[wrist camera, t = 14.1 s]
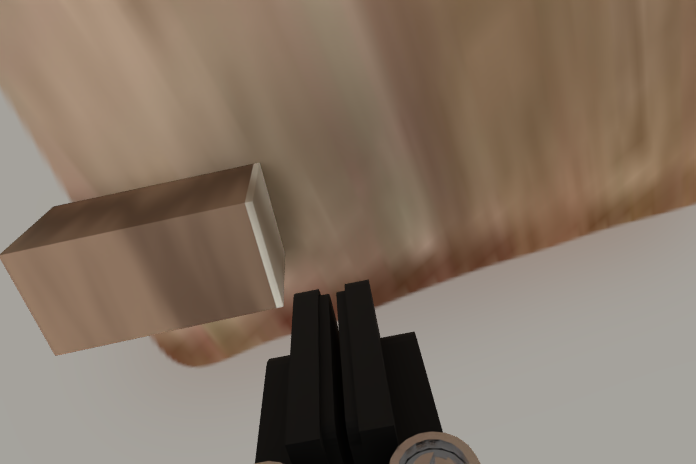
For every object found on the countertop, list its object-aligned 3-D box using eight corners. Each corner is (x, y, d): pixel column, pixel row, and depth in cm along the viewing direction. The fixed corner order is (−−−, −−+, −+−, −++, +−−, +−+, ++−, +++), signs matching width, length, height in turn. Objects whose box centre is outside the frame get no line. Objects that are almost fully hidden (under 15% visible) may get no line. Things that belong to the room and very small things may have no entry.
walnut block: (252, 201, 20) (-2, 255, 19) (283, 306, 22) (55, 356, 22) (259, 162, 24) (53, 206, 24) (284, 252, 26) (95, 293, 26)
